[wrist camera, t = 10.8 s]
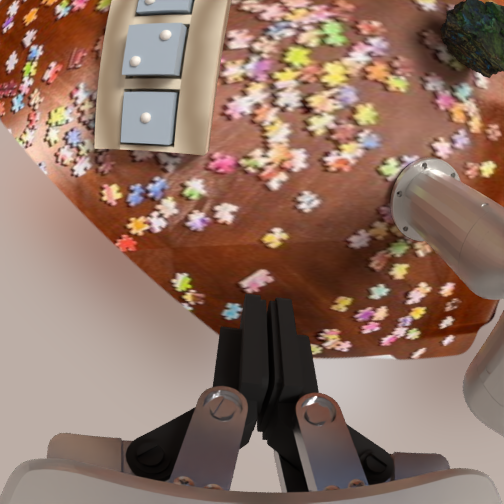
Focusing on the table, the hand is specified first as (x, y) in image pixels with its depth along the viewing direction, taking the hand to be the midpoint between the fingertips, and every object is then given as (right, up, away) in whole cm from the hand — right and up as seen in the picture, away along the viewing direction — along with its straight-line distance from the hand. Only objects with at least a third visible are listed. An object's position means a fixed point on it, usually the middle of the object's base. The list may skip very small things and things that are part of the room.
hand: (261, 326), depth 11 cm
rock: (+31, +35, +14) cm, 49 cm away
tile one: (-12, +19, +21) cm, 30 cm away
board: (-11, +27, +19) cm, 34 cm away
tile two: (-11, +25, +16) cm, 32 cm away
